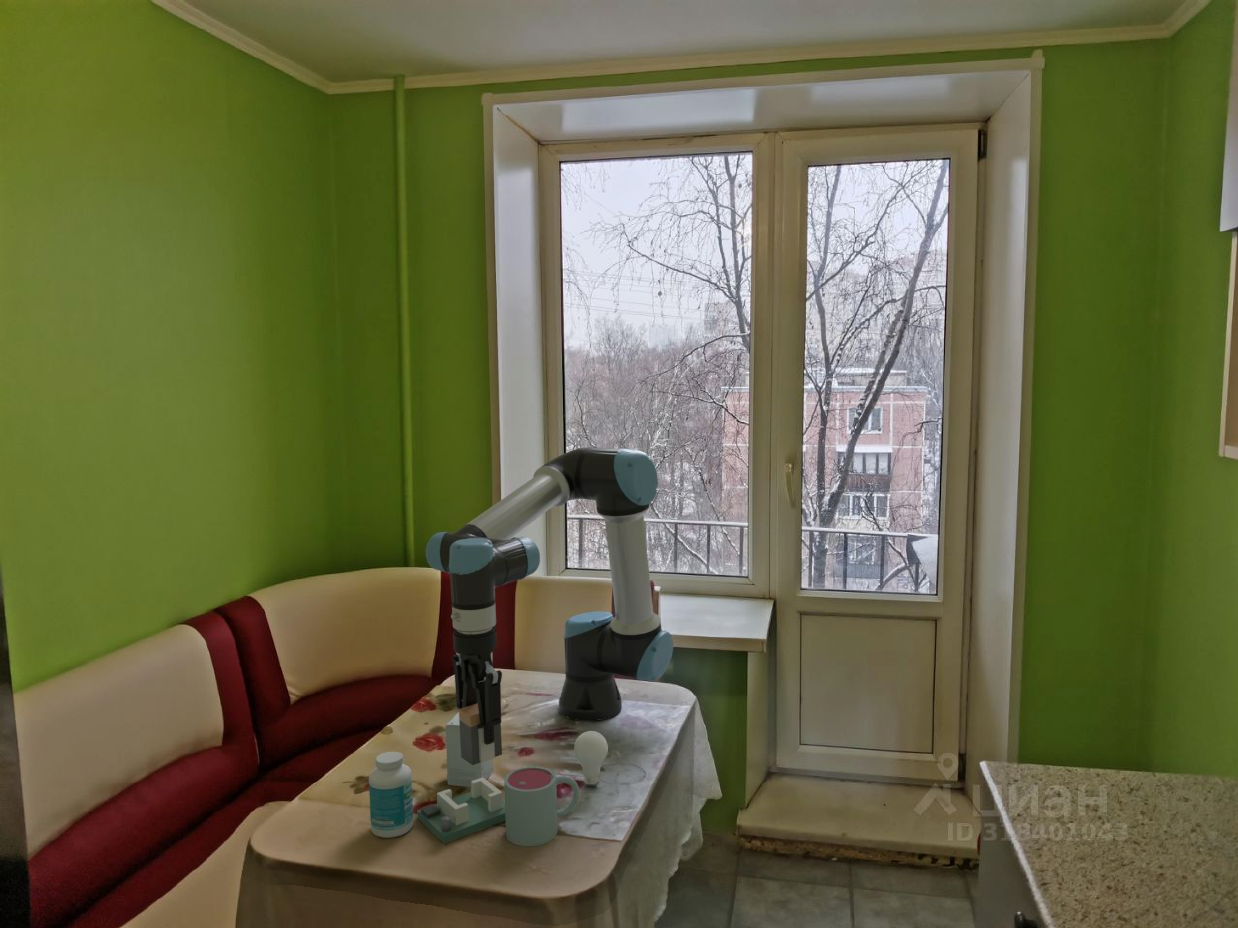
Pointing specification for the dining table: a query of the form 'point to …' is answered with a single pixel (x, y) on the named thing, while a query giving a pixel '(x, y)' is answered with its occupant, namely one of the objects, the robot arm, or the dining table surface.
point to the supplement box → (457, 766)
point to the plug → (474, 734)
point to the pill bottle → (390, 796)
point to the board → (464, 811)
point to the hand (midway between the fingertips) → (480, 754)
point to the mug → (534, 804)
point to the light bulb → (591, 755)
